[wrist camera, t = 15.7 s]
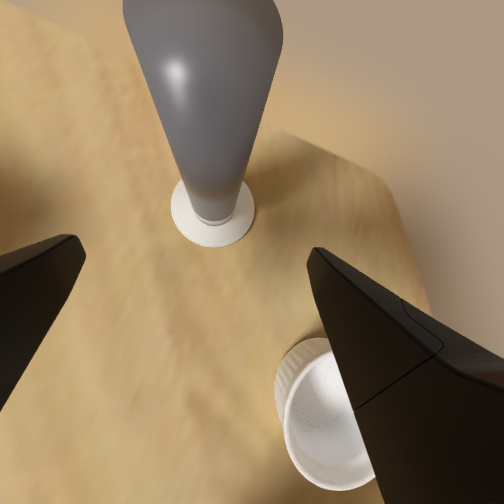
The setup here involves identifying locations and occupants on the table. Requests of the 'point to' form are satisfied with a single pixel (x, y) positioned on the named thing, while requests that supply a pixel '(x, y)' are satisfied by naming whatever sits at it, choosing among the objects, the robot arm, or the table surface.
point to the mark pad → (212, 234)
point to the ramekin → (320, 418)
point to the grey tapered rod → (208, 87)
